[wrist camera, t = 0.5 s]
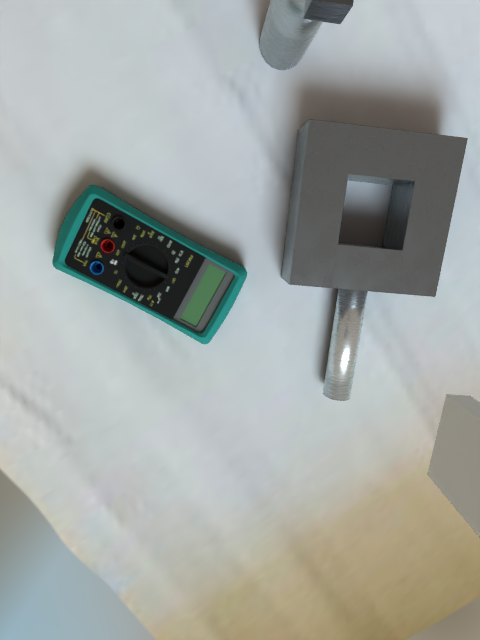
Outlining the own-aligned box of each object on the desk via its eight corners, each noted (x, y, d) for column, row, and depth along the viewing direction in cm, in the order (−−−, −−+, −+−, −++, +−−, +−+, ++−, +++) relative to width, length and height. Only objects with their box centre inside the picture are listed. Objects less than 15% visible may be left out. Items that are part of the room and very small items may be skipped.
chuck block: (298, 130, 34) (309, 119, 30) (439, 146, 35) (467, 138, 31) (268, 384, 39) (274, 402, 35) (392, 391, 40) (411, 410, 36)
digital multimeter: (91, 181, 35) (80, 177, 32) (249, 269, 37) (252, 273, 34) (54, 260, 36) (40, 263, 33) (209, 339, 38) (208, 349, 36)
